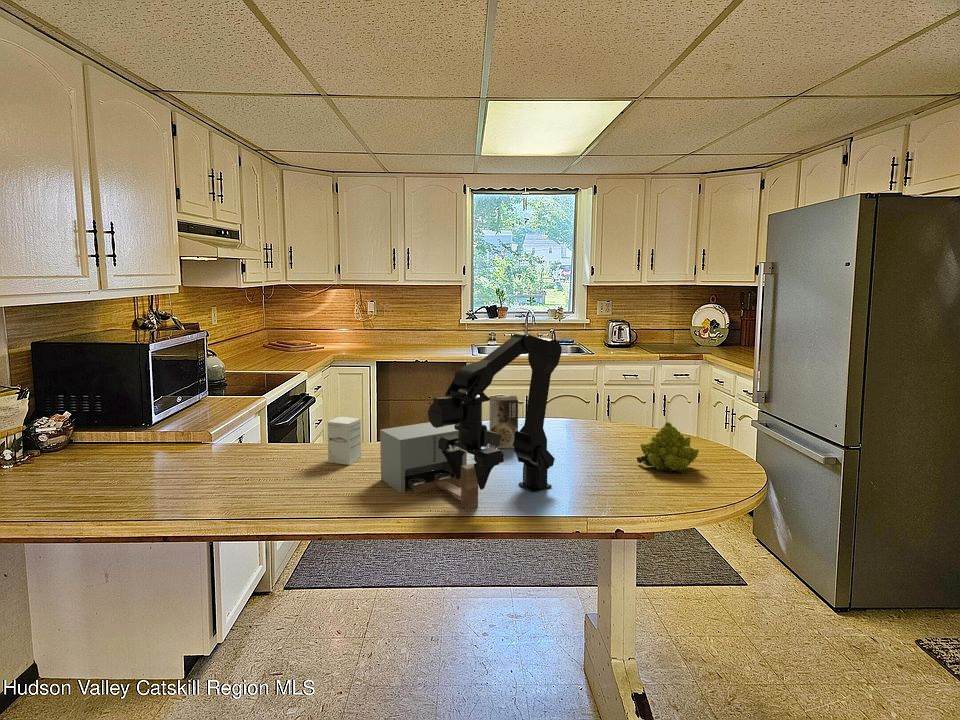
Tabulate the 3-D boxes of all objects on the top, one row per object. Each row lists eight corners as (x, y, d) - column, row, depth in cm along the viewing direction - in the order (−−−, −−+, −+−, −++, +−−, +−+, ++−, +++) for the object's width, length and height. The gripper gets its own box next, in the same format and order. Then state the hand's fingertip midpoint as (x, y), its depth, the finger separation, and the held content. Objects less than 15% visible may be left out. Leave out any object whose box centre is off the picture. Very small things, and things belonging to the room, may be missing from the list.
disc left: (428, 487, 163) (428, 481, 163) (413, 490, 161) (413, 484, 161) (420, 482, 167) (420, 477, 167) (405, 485, 164) (405, 480, 164)
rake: (498, 501, 153) (498, 462, 151) (446, 514, 145) (445, 473, 143) (462, 482, 166) (462, 446, 165) (413, 493, 158) (412, 456, 157)
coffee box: (516, 443, 204) (517, 395, 202) (518, 448, 198) (519, 399, 195) (488, 443, 204) (489, 395, 201) (489, 449, 197) (490, 399, 195)
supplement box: (327, 463, 182) (326, 421, 180) (340, 456, 189) (339, 415, 187) (349, 465, 180) (348, 423, 178) (362, 458, 187) (361, 417, 185)
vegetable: (622, 452, 182) (652, 410, 180) (655, 472, 189) (684, 433, 188) (652, 477, 169) (685, 432, 167) (686, 498, 176) (717, 455, 175)
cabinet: (466, 478, 169) (466, 429, 167) (401, 493, 158) (400, 440, 156) (444, 466, 179) (444, 419, 177) (381, 479, 168) (380, 429, 166)
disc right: (454, 481, 168) (454, 476, 167) (440, 484, 165) (440, 479, 165) (445, 477, 171) (445, 471, 171) (431, 480, 169) (431, 474, 169)
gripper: (521, 423, 145) (520, 487, 147) (472, 409, 159) (472, 467, 161) (485, 431, 138) (484, 498, 140) (436, 415, 152) (437, 476, 154)
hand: (469, 483), depth 149 cm, fingers open, 9 cm apart
